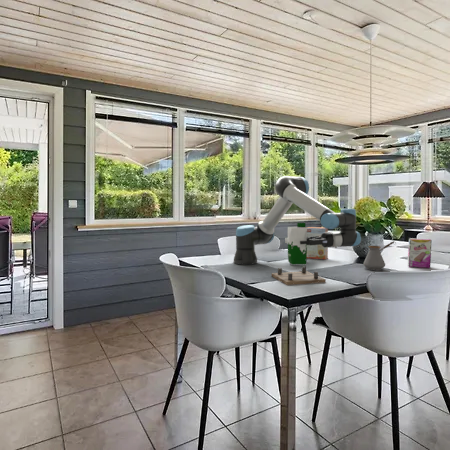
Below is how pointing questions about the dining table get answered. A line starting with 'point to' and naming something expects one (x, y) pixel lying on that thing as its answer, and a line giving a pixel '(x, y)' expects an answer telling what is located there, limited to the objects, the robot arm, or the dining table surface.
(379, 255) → the coffee pot
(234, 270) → the dining table surface
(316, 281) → the peg board
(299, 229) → the soya milk
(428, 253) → the candy bar box
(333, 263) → the dining table surface
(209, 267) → the dining table surface
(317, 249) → the cracker box
